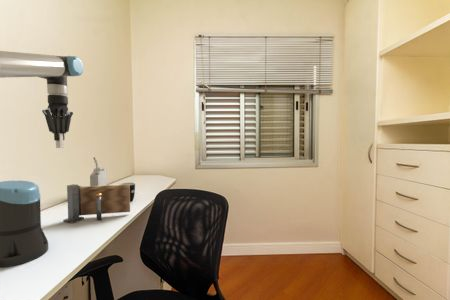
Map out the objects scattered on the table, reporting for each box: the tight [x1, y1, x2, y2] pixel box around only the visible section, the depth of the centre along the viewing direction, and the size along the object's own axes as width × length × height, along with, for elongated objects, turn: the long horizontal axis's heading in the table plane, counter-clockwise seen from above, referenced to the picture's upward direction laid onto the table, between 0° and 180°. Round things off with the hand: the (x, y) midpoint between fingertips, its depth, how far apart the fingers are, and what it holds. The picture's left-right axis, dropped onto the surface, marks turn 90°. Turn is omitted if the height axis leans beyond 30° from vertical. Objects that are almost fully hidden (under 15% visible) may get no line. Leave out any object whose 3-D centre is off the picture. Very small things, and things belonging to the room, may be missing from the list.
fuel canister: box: [89, 156, 108, 186], centre depth 152 cm, size 15×5×25 cm, turn 5°
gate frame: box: [62, 183, 103, 224], centre depth 109 cm, size 8×14×16 cm, turn 71°
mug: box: [117, 182, 136, 203], centre depth 142 cm, size 12×9×10 cm
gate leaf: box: [78, 184, 131, 217], centre depth 115 cm, size 23×2×14 cm, turn 105°
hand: (59, 147), depth 111 cm, fingers closed
